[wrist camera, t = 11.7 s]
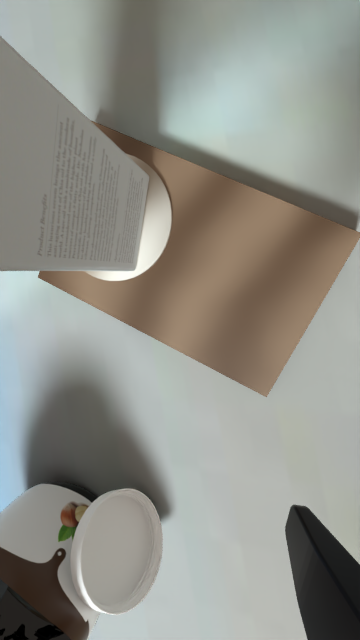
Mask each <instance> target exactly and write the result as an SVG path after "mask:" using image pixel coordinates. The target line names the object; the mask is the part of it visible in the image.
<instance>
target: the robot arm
mask: <svg viewBox="0 0 360 640" xmlns="http://www.w3.org/2000/svg"><path fill="white" fill-rule="evenodd" d="M285 533H286V540H287V546H288V551H289V557H290V562H291V568H292V574H293V579H294V585H295V591H296V596H297V601H298V605H299V609H300V613H301V617H302V620H303V624H304V628H305V632H306V635H307V639H308V640H360V565H359V563H358V562H357V561H356V560H355V559H354V558H353V557H352V556H351V555H350V554H349V552H348V551H347V550H346V549H345V548H344V547H343V546H342V545H341V544H340V543H339V541H338V540H337V539H336V538H335V537H334V536H333V535H332V534H331V533H330V531H329V530H328V529H327V528H326V527H325V526H324V525H323V524H322V523H321V522H320V520H319V519H318V518H317V517H316V516H315V515H314V514H313V513H312V512H311V511H310V509H309V508H307V507H306V506H300V505H292V506H291V508H290V512H289V515H288V519H287V523H286V528H285Z"/></svg>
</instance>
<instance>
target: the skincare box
mask: <svg viewBox="0 0 360 640" xmlns="http://www.w3.org/2000/svg"><path fill="white" fill-rule="evenodd" d="M148 183H149V175H148V174H147V173H146V172H145V171H143V170H142V169H141V168H140V167H139V166H138V165H137V164H136V163H135V162H134V161H133V160H132V159H131V158H130V157H128V156H127V155H126V154H125V153H124V152H123V151H122V150H121V149H120V148H119V147H118V146H117V145H116V144H115V143H114V142H113V141H112V140H111V139H109V138H108V137H107V136H106V135H105V134H104V133H103V132H102V131H101V130H100V129H99V128H98V127H97V126H96V125H95V124H94V123H93V122H91V121H90V120H89V119H88V118H87V117H86V116H85V115H84V114H83V113H82V112H80V111H79V110H78V109H77V108H76V107H75V106H74V105H73V104H72V103H71V102H70V101H69V100H68V99H67V98H66V97H65V96H64V95H63V94H61V93H60V92H59V91H58V90H57V89H56V88H55V87H54V86H53V85H52V84H51V83H50V82H49V81H48V80H46V79H45V78H44V77H43V76H42V75H41V74H40V73H39V72H38V71H37V70H36V69H35V68H34V67H33V66H32V65H30V64H29V63H28V62H27V61H26V60H25V59H24V58H23V57H22V56H21V55H20V54H19V53H18V52H17V51H16V50H15V49H14V48H13V47H12V46H10V45H9V44H8V43H7V42H6V41H5V40H4V39H3V38H2V37H1V36H0V271H134V270H135V269H136V262H137V255H138V249H139V242H140V236H141V229H142V223H143V216H144V209H145V203H146V196H147V190H148Z"/></svg>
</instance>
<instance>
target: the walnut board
mask: <svg viewBox="0 0 360 640" xmlns="http://www.w3.org/2000/svg"><path fill="white" fill-rule="evenodd" d="M90 121H91V120H90ZM91 122H93V121H91ZM93 123H94V124H95V125H96V126H97V127H98V128H99V129H100V130H101V131H102V132H103V133H104V134H105V135H106V136H107V137H108V138H109V139H111V140H112V141H113V142H114V143H115V144H116V145H117V146H118V147H119V148H120V149H121V150H122V151H123V152H124V153H125V154H126V155H127V156H128V157H130V158H131V159H132V160H133V161H134V162H135V163H136V164H137V165H138V166H139V167H140V168H141V169H142V170H143V171H145V172H146V173H147V174H148V175H149V183H148V190H147V196H146V203H145V209H144V216H143V223H142V229H141V236H140V242H139V249H138V255H137V262H136V269H135V270H134V271H40V272H39V275H38V278H40V279H42V280H44V281H46V282H48V283H50V284H52V285H53V286H55V287H57V288H59V289H61V290H63V291H65V292H67V293H69V294H71V295H73V296H74V297H76V298H78V299H80V300H82V301H84V302H86V303H88V304H90V305H92V306H94V307H95V308H97V309H99V310H101V311H103V312H105V313H107V314H109V315H111V316H113V317H115V318H116V319H118V320H120V321H122V322H124V323H126V324H128V325H130V326H132V327H134V328H135V329H137V330H139V331H141V332H143V333H145V334H147V335H149V336H151V337H153V338H155V339H156V340H158V341H160V342H162V343H164V344H166V345H168V346H170V347H172V348H174V349H176V350H177V351H179V352H181V353H183V354H185V355H187V356H189V357H191V358H193V359H195V360H197V361H198V362H200V363H202V364H204V365H206V366H208V367H210V368H212V369H214V370H216V371H218V372H219V373H221V374H223V375H225V376H227V377H229V378H231V379H233V380H235V381H237V382H239V383H240V384H242V385H244V386H246V387H248V388H250V389H252V390H254V391H256V392H258V393H259V394H261V395H263V396H265V397H267V395H268V394H269V392H270V390H271V389H272V387H273V385H274V383H275V382H276V380H277V378H278V377H279V375H280V373H281V371H282V370H283V368H284V366H285V365H286V363H287V361H288V360H289V358H290V356H291V354H292V353H293V351H294V349H295V348H296V346H297V344H298V342H299V341H300V339H301V337H302V336H303V334H304V332H305V331H306V329H307V327H308V325H309V324H310V322H311V320H312V319H313V317H314V315H315V313H316V312H317V310H318V308H319V307H320V305H321V303H322V302H323V300H324V298H325V296H326V295H327V293H328V291H329V290H330V288H331V286H332V284H333V283H334V281H335V279H336V278H337V276H338V274H339V272H340V271H341V269H342V267H343V266H344V264H345V262H346V261H347V259H348V257H349V255H350V254H351V252H352V250H353V249H354V247H355V245H356V243H357V242H358V240H359V238H360V232H357V231H355V230H353V229H350V228H348V227H345V226H343V225H341V224H338V223H336V222H333V221H331V220H329V219H326V218H324V217H321V216H319V215H317V214H314V213H312V212H309V211H307V210H305V209H302V208H300V207H297V206H295V205H293V204H290V203H288V202H285V201H283V200H280V199H278V198H276V197H273V196H271V195H268V194H266V193H264V192H261V191H259V190H256V189H254V188H252V187H249V186H247V185H244V184H242V183H240V182H237V181H235V180H232V179H230V178H228V177H225V176H223V175H220V174H218V173H216V172H213V171H211V170H208V169H206V168H204V167H201V166H199V165H196V164H194V163H192V162H189V161H187V160H184V159H182V158H180V157H177V156H175V155H172V154H170V153H168V152H165V151H163V150H160V149H158V148H156V147H153V146H151V145H148V144H146V143H144V142H141V141H139V140H136V139H134V138H132V137H129V136H127V135H124V134H122V133H119V132H117V131H115V130H112V129H110V128H107V127H105V126H103V125H100V124H98V123H95V122H93Z"/></svg>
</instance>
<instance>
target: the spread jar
mask: <svg viewBox="0 0 360 640" xmlns="http://www.w3.org/2000/svg"><path fill="white" fill-rule="evenodd" d="M162 548H163V535H162V527H161V522H160V518H159V515H158V513H157V510H156V508H155V506H154V505H153V503H152V502H151V500H150V499H149V498H148V497H147V496H146V495H145V494H143V493H142V492H140V491H138V490H135V489H128V488H125V489H119V490H114V491H109V492H107V493H105V494H103V495H101V496H100V497H98V498H97V497H96V496H95V495H94V494H92V493H91V492H89V491H88V490H86V489H84V488H82V487H79V486H77V485H73V484H69V483H64V482H47V483H42V484H38V485H36V486H34V487H32V488H30V489H28V490H27V491H25V492H24V493H22V494H21V495H20V496H18V497H17V498H16V499H15V500H14V501H13V502H11V503H10V504H9V505H8V506H7V507H6V508H5V509H4V510H3V511H2V512H1V513H0V640H88V639H89V637H90V635H91V633H92V630H93V628H94V626H95V624H96V622H97V620H98V617H99V615H100V613H101V612H103V613H106V614H114V615H119V614H123V613H126V612H128V611H130V610H132V609H133V608H135V607H136V606H137V605H138V604H139V603H140V602H141V601H142V600H143V599H144V598H145V596H146V595H147V594H148V592H149V591H150V589H151V587H152V585H153V583H154V581H155V579H156V576H157V573H158V570H159V566H160V562H161V557H162Z"/></svg>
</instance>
